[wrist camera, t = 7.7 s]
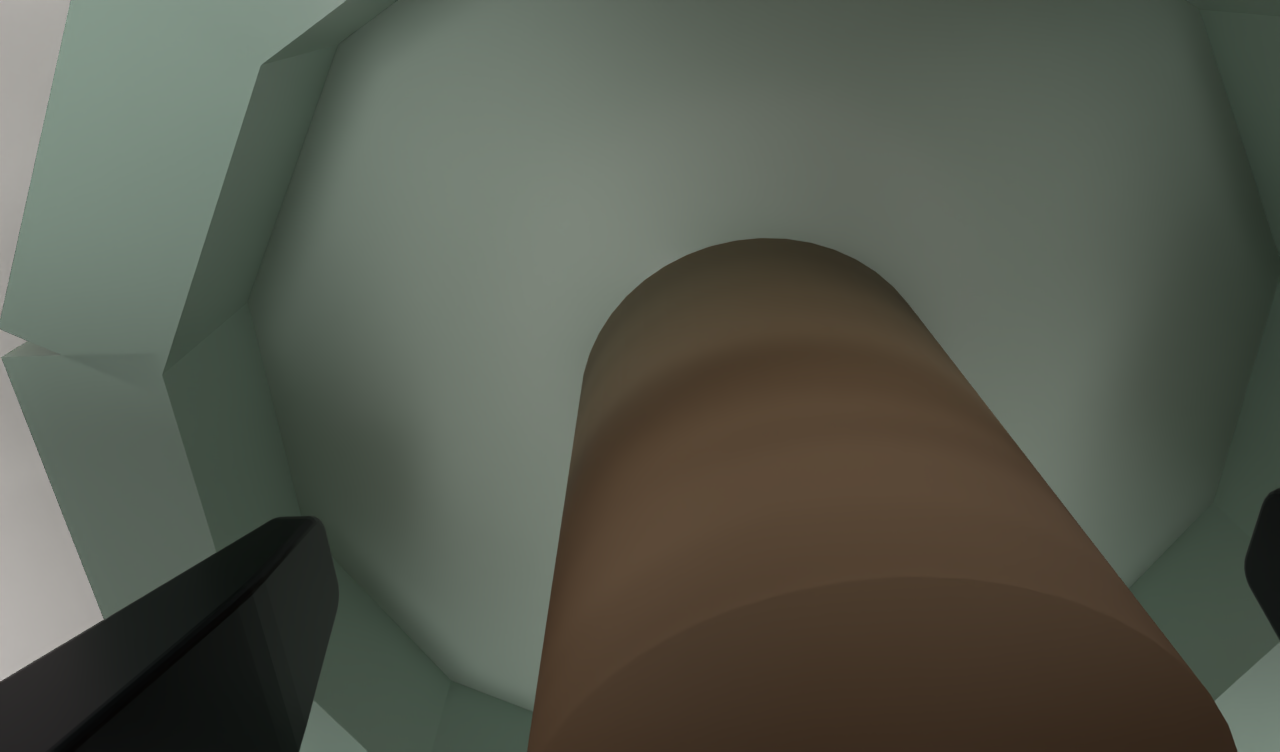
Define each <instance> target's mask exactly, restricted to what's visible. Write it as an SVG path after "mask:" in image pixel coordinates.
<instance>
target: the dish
mask: <svg viewBox="0 0 1280 752" xmlns="http://www.w3.org/2000/svg"><path fill="white" fill-rule="evenodd" d="M756 238H777V239H791V240H797V241H804V242H810V243H814V244H817V245H820V246H824V247H827V248H831V249H834V250H836V251H839V252H841V253H843V254H845V255H847V256H850V257H852V258H854V259H856V260H858V261H859V262H861V263H863V264H864V265H866V266H867V267H869V268H871V269H872V270H874V271H875V272H877V273H878V274H879V275H880V276H881V277H883V278H884V279H885V280H886V281H887V282H888V283H890V284H891V285H892V286H893V287H894V288H895V289H896V290H897V291H898V293H899V294H900V295H901V296H902V297H903V298H904V299H905V301H906V302H907V303H908V304H909V305H910V307H911V308H912V309H913V311H914V312H915V313H916V314H917V316H918V317H919V318H920V320H921V321H922V322H923V323H924V325H925V326H926V327H927V329H928V330H929V331H930V333H931V334H932V335H933V336H934V338H935V339H936V340H937V342H938V343H939V344H940V345H941V347H942V348H943V349H944V351H945V352H946V353H947V354H948V356H949V357H950V358H951V360H952V361H953V362H954V364H955V365H956V366H957V367H958V369H959V370H960V371H961V373H962V374H963V375H964V376H965V378H966V379H967V380H968V382H969V383H970V384H971V386H972V387H973V388H974V389H975V391H976V392H977V393H978V395H979V396H980V397H981V398H982V400H983V401H984V402H985V404H986V405H987V406H988V407H989V409H990V410H991V411H992V413H993V414H994V415H995V417H996V418H997V419H998V420H999V422H1000V423H1001V424H1002V426H1003V427H1004V428H1005V429H1006V431H1007V432H1008V433H1009V435H1010V436H1011V437H1012V439H1013V440H1014V441H1015V442H1016V444H1017V445H1018V446H1019V448H1020V449H1021V450H1022V451H1023V453H1024V454H1025V455H1026V457H1027V458H1028V459H1029V460H1030V462H1031V463H1032V464H1033V466H1034V467H1035V468H1036V470H1037V471H1038V472H1039V473H1040V475H1041V476H1042V477H1043V479H1044V480H1045V481H1046V482H1047V484H1048V485H1049V486H1050V488H1051V489H1052V490H1053V492H1054V493H1055V494H1056V495H1057V497H1058V498H1059V499H1060V501H1061V502H1062V503H1063V504H1064V506H1065V507H1066V508H1067V510H1068V511H1069V512H1070V514H1071V515H1072V516H1073V517H1074V519H1075V520H1076V521H1077V523H1078V524H1079V525H1080V526H1081V528H1082V529H1083V530H1084V532H1085V533H1086V534H1087V535H1088V537H1089V538H1090V539H1091V541H1092V542H1093V543H1094V545H1095V546H1096V547H1097V548H1098V550H1099V551H1100V552H1101V554H1102V555H1103V556H1104V557H1105V559H1106V560H1107V561H1108V563H1109V564H1110V565H1111V567H1112V568H1113V569H1114V570H1115V572H1116V573H1117V574H1118V576H1119V577H1120V578H1121V579H1122V581H1123V582H1124V583H1125V585H1126V586H1127V587H1128V588H1129V590H1130V591H1131V592H1132V594H1133V595H1134V596H1135V598H1136V599H1137V600H1138V601H1139V603H1140V604H1141V605H1142V607H1143V608H1144V609H1145V610H1146V612H1147V613H1148V614H1149V616H1150V617H1151V618H1152V620H1153V621H1154V622H1155V623H1156V625H1157V626H1158V627H1159V629H1160V630H1161V631H1162V632H1163V634H1164V635H1165V636H1166V638H1167V639H1168V640H1169V641H1170V643H1171V644H1172V645H1173V647H1174V648H1175V649H1176V651H1177V652H1178V653H1179V654H1180V656H1181V657H1182V658H1183V660H1184V661H1185V662H1186V663H1187V665H1188V666H1189V667H1190V669H1191V670H1192V671H1193V673H1194V674H1195V675H1196V676H1197V678H1198V679H1199V680H1200V682H1201V683H1202V684H1203V685H1204V687H1205V688H1206V689H1207V691H1208V692H1209V693H1210V695H1211V696H1212V698H1213V700H1214V701H1215V703H1216V705H1217V706H1218V708H1219V710H1220V711H1221V713H1222V715H1223V716H1224V718H1225V720H1226V722H1227V723H1228V725H1229V728H1230V731H1231V733H1232V736H1233V739H1234V742H1235V745H1236V748H1237V751H1238V752H1280V640H1279V639H1278V637H1277V635H1276V633H1275V632H1274V630H1273V628H1272V626H1271V624H1270V623H1269V621H1268V619H1267V617H1266V616H1265V614H1264V612H1263V610H1262V609H1261V607H1260V605H1259V603H1258V602H1257V600H1256V598H1255V596H1254V595H1253V593H1252V591H1251V589H1250V587H1249V585H1248V583H1247V580H1246V577H1245V571H1244V560H1245V555H1246V552H1247V549H1248V546H1249V543H1250V540H1251V537H1252V533H1253V530H1254V527H1255V524H1256V521H1257V518H1258V515H1259V512H1260V509H1261V506H1262V503H1263V501H1264V498H1265V497H1266V496H1267V495H1268V494H1269V493H1270V492H1271V491H1273V490H1275V489H1277V488H1280V0H71V2H70V6H69V11H68V15H67V20H66V24H65V29H64V33H63V38H62V42H61V47H60V51H59V56H58V60H57V65H56V69H55V74H54V78H53V83H52V88H51V92H50V97H49V101H48V106H47V110H46V115H45V119H44V124H43V128H42V133H41V137H40V142H39V146H38V151H37V155H36V160H35V164H34V169H33V174H32V178H31V183H30V187H29V192H28V196H27V201H26V205H25V210H24V214H23V219H22V223H21V228H20V232H19V237H18V241H17V246H16V250H15V255H14V260H13V264H12V269H11V273H10V278H9V282H8V287H7V291H6V296H5V300H4V305H3V309H2V314H1V318H0V329H1V330H3V331H5V332H8V333H10V334H13V335H15V336H17V337H20V338H22V339H24V340H27V342H26V343H24V344H22V345H21V346H19V347H17V348H16V349H14V350H13V351H11V352H9V353H8V354H6V355H4V356H3V357H1V358H2V361H3V363H4V366H5V368H6V371H7V373H8V376H9V378H10V381H11V384H12V386H13V389H14V391H15V394H16V396H17V399H18V401H19V404H20V406H21V409H22V412H23V414H24V417H25V419H26V422H27V424H28V427H29V429H30V432H31V435H32V437H33V440H34V442H35V445H36V447H37V450H38V452H39V455H40V458H41V460H42V463H43V465H44V468H45V470H46V473H47V475H48V478H49V480H50V483H51V486H52V488H53V491H54V493H55V496H56V498H57V501H58V503H59V506H60V509H61V511H62V514H63V516H64V519H65V521H66V524H67V526H68V529H69V532H70V534H71V537H72V539H73V542H74V544H75V547H76V549H77V552H78V554H79V557H80V560H81V562H82V565H83V567H84V570H85V572H86V575H87V577H88V580H89V583H90V585H91V588H92V590H93V593H94V595H95V598H96V600H97V603H98V606H99V608H100V611H101V613H102V616H103V618H104V619H106V618H107V617H109V616H111V615H112V614H114V613H116V612H118V611H119V610H121V609H123V608H124V607H126V606H128V605H129V604H131V603H133V602H134V601H136V600H138V599H139V598H141V597H143V596H144V595H146V594H148V593H149V592H151V591H153V590H154V589H156V588H158V587H159V586H161V585H163V584H164V583H166V582H168V581H169V580H171V579H173V578H174V577H176V576H178V575H179V574H181V573H183V572H184V571H186V570H188V569H189V568H191V567H193V566H194V565H196V564H198V563H199V562H201V561H203V560H204V559H206V558H208V557H209V556H211V555H213V554H215V553H216V552H218V551H220V550H221V549H223V548H225V547H226V546H228V545H230V544H231V543H233V542H235V541H236V540H238V539H240V538H241V537H243V536H245V535H246V534H248V533H250V532H251V531H253V530H255V529H256V528H258V527H260V526H261V525H263V524H265V523H266V522H268V521H270V520H271V519H273V518H276V517H287V516H315V517H317V518H318V519H320V520H321V521H322V523H323V525H324V527H325V530H326V533H327V537H328V542H329V546H330V550H331V554H332V558H333V563H334V567H335V571H336V575H337V580H338V585H339V604H338V609H337V614H336V617H335V621H334V625H333V629H332V632H331V636H330V640H329V644H328V648H327V651H326V655H325V659H324V663H323V666H322V670H321V674H320V678H319V681H318V685H317V689H316V693H315V697H314V700H313V704H312V708H311V712H310V715H309V719H308V723H307V727H306V730H305V734H304V737H303V740H302V744H301V747H300V751H299V752H527V748H528V742H529V735H530V728H531V722H532V715H533V708H534V702H535V695H536V688H537V682H538V675H539V668H540V662H541V655H542V648H543V642H544V635H545V628H546V622H547V615H548V608H549V601H550V595H551V588H552V581H553V575H554V568H555V561H556V555H557V548H558V541H559V535H560V528H561V521H562V515H563V508H564V501H565V495H566V488H567V481H568V475H569V468H570V461H571V455H572V448H573V441H574V435H575V428H576V421H577V414H578V408H579V401H580V394H581V388H582V381H583V374H584V371H585V367H586V364H587V361H588V357H589V354H590V352H591V349H592V347H593V345H594V343H595V341H596V339H597V336H598V334H599V332H600V331H601V329H602V328H603V326H604V325H605V323H606V321H607V320H608V318H609V317H610V315H611V314H612V313H613V311H614V310H615V309H616V308H617V307H618V306H619V304H620V303H621V302H622V301H623V300H624V299H625V297H626V296H627V295H628V294H630V293H631V292H632V291H633V290H634V289H635V288H636V287H637V286H638V285H640V284H641V283H642V282H643V281H644V280H645V279H647V278H648V277H650V276H651V275H653V274H654V273H656V272H657V271H658V270H660V269H661V268H663V267H664V266H666V265H668V264H670V263H672V262H674V261H676V260H678V259H680V258H682V257H684V256H686V255H688V254H691V253H693V252H696V251H699V250H702V249H704V248H707V247H710V246H714V245H718V244H723V243H727V242H731V241H736V240H746V239H756Z"/></svg>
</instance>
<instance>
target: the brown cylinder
mask: <svg viewBox="0 0 1280 752" xmlns="http://www.w3.org/2000/svg"><path fill="white" fill-rule="evenodd" d="M527 752H1238V751H1237V748H1236V745H1235V742H1234V739H1233V736H1232V733H1231V731H1230V728H1229V725H1228V723H1227V722H1226V720H1225V718H1224V716H1223V715H1222V713H1221V711H1220V710H1219V708H1218V706H1217V705H1216V703H1215V701H1214V700H1213V698H1212V696H1211V695H1210V693H1209V692H1208V691H1207V689H1206V688H1205V687H1204V685H1203V684H1202V683H1201V682H1200V680H1199V679H1198V678H1197V676H1196V675H1195V674H1194V673H1193V671H1192V670H1191V669H1190V667H1189V666H1188V665H1187V663H1186V662H1185V661H1184V660H1183V658H1182V657H1181V656H1180V654H1179V653H1178V652H1177V651H1176V649H1175V648H1174V647H1173V645H1172V644H1171V643H1170V641H1169V640H1168V639H1167V638H1166V636H1165V635H1164V634H1163V632H1162V631H1161V630H1160V629H1159V627H1158V626H1157V625H1156V623H1155V622H1154V621H1153V620H1152V618H1151V617H1150V616H1149V614H1148V613H1147V612H1146V610H1145V609H1144V608H1143V607H1142V605H1141V604H1140V603H1139V601H1138V600H1137V599H1136V598H1135V596H1134V595H1133V594H1132V592H1131V591H1130V590H1129V588H1128V587H1127V586H1126V585H1125V583H1124V582H1123V581H1122V579H1121V578H1120V577H1119V576H1118V574H1117V573H1116V572H1115V570H1114V569H1113V568H1112V567H1111V565H1110V564H1109V563H1108V561H1107V560H1106V559H1105V557H1104V556H1103V555H1102V554H1101V552H1100V551H1099V550H1098V548H1097V547H1096V546H1095V545H1094V543H1093V542H1092V541H1091V539H1090V538H1089V537H1088V535H1087V534H1086V533H1085V532H1084V530H1083V529H1082V528H1081V526H1080V525H1079V524H1078V523H1077V521H1076V520H1075V519H1074V517H1073V516H1072V515H1071V514H1070V512H1069V511H1068V510H1067V508H1066V507H1065V506H1064V504H1063V503H1062V502H1061V501H1060V499H1059V498H1058V497H1057V495H1056V494H1055V493H1054V492H1053V490H1052V489H1051V488H1050V486H1049V485H1048V484H1047V482H1046V481H1045V480H1044V479H1043V477H1042V476H1041V475H1040V473H1039V472H1038V471H1037V470H1036V468H1035V467H1034V466H1033V464H1032V463H1031V462H1030V460H1029V459H1028V458H1027V457H1026V455H1025V454H1024V453H1023V451H1022V450H1021V449H1020V448H1019V446H1018V445H1017V444H1016V442H1015V441H1014V440H1013V439H1012V437H1011V436H1010V435H1009V433H1008V432H1007V431H1006V429H1005V428H1004V427H1003V426H1002V424H1001V423H1000V422H999V420H998V419H997V418H996V417H995V415H994V414H993V413H992V411H991V410H990V409H989V407H988V406H987V405H986V404H985V402H984V401H983V400H982V398H981V397H980V396H979V395H978V393H977V392H976V391H975V389H974V388H973V387H972V386H971V384H970V383H969V382H968V380H967V379H966V378H965V376H964V375H963V374H962V373H961V371H960V370H959V369H958V367H957V366H956V365H955V364H954V362H953V361H952V360H951V358H950V357H949V356H948V354H947V353H946V352H945V351H944V349H943V348H942V347H941V345H940V344H939V343H938V342H937V340H936V339H935V338H934V336H933V335H932V334H931V333H930V331H929V330H928V329H927V327H926V326H925V325H924V323H923V322H922V321H921V320H920V318H919V317H918V316H917V314H916V313H915V312H914V311H913V309H912V308H911V307H910V305H909V304H908V303H907V302H906V301H905V299H904V298H903V297H902V296H901V295H900V294H899V293H898V291H897V290H896V289H895V288H894V287H893V286H892V285H891V284H890V283H888V282H887V281H886V280H885V279H884V278H883V277H881V276H880V275H879V274H878V273H877V272H875V271H874V270H872V269H871V268H869V267H867V266H866V265H864V264H863V263H861V262H859V261H858V260H856V259H854V258H852V257H850V256H847V255H845V254H843V253H841V252H839V251H836V250H834V249H831V248H827V247H824V246H820V245H817V244H814V243H810V242H804V241H797V240H791V239H777V238H756V239H746V240H736V241H731V242H727V243H723V244H718V245H714V246H710V247H707V248H704V249H702V250H699V251H696V252H693V253H691V254H688V255H686V256H684V257H682V258H680V259H678V260H676V261H674V262H672V263H670V264H668V265H666V266H664V267H663V268H661V269H660V270H658V271H657V272H656V273H654V274H653V275H651V276H650V277H648V278H647V279H645V280H644V281H643V282H642V283H641V284H640V285H638V286H637V287H636V288H635V289H634V290H633V291H632V292H631V293H630V294H628V295H627V296H626V297H625V299H624V300H623V301H622V302H621V303H620V304H619V306H618V307H617V308H616V309H615V310H614V311H613V313H612V314H611V315H610V317H609V318H608V320H607V321H606V323H605V325H604V326H603V328H602V329H601V331H600V332H599V334H598V336H597V339H596V341H595V343H594V345H593V347H592V349H591V352H590V354H589V357H588V361H587V364H586V367H585V371H584V374H583V381H582V388H581V394H580V401H579V408H578V414H577V421H576V428H575V435H574V441H573V448H572V455H571V461H570V468H569V475H568V481H567V488H566V495H565V501H564V508H563V515H562V521H561V528H560V535H559V541H558V548H557V555H556V561H555V568H554V575H553V581H552V588H551V595H550V601H549V608H548V615H547V622H546V628H545V635H544V642H543V648H542V655H541V662H540V668H539V675H538V682H537V688H536V695H535V702H534V708H533V715H532V722H531V728H530V735H529V742H528V748H527Z"/></svg>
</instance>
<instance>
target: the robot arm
mask: <svg viewBox="0 0 1280 752" xmlns="http://www.w3.org/2000/svg"><path fill="white" fill-rule="evenodd" d="M1244 571H1245V577H1246V580H1247V583H1248V585H1249V587H1250V589H1251V591H1252V593H1253V595H1254V596H1255V598H1256V600H1257V602H1258V603H1259V605H1260V607H1261V609H1262V610H1263V612H1264V614H1265V616H1266V617H1267V619H1268V621H1269V623H1270V624H1271V626H1272V628H1273V630H1274V632H1275V633H1276V635H1277V637H1278V639H1279V640H1280V488H1277V489H1275V490H1273V491H1271V492H1270V493H1269V494H1268V495H1267V496H1266V497H1265V498H1264V501H1263V503H1262V506H1261V509H1260V512H1259V515H1258V518H1257V521H1256V524H1255V527H1254V530H1253V533H1252V537H1251V540H1250V543H1249V546H1248V549H1247V552H1246V555H1245V560H1244ZM338 604H339V585H338V580H337V575H336V571H335V567H334V563H333V558H332V554H331V550H330V546H329V542H328V537H327V533H326V530H325V527H324V525H323V523H322V521H321V520H320V519H318V518H317V517H315V516H287V517H276V518H273V519H271V520H270V521H268V522H266V523H265V524H263V525H261V526H260V527H258V528H256V529H255V530H253V531H251V532H250V533H248V534H246V535H245V536H243V537H241V538H240V539H238V540H236V541H235V542H233V543H231V544H230V545H228V546H226V547H225V548H223V549H221V550H220V551H218V552H216V553H215V554H213V555H211V556H209V557H208V558H206V559H204V560H203V561H201V562H199V563H198V564H196V565H194V566H193V567H191V568H189V569H188V570H186V571H184V572H183V573H181V574H179V575H178V576H176V577H174V578H173V579H171V580H169V581H168V582H166V583H164V584H163V585H161V586H159V587H158V588H156V589H154V590H153V591H151V592H149V593H148V594H146V595H144V596H143V597H141V598H139V599H138V600H136V601H134V602H133V603H131V604H129V605H128V606H126V607H124V608H123V609H121V610H119V611H118V612H116V613H114V614H112V615H111V616H109V617H107V618H106V619H104V620H102V621H101V622H99V623H97V624H96V625H94V626H92V627H91V628H89V629H87V630H86V631H84V632H82V633H81V634H79V635H77V636H76V637H74V638H72V639H71V640H69V641H67V642H66V643H64V644H62V645H61V646H59V647H57V648H56V649H54V650H52V651H51V652H49V653H47V654H46V655H44V656H42V657H41V658H39V659H37V660H36V661H34V662H32V663H31V664H29V665H27V666H26V667H24V668H22V669H21V670H19V671H17V672H16V673H14V674H12V675H10V676H9V677H7V678H5V679H4V680H2V681H0V752H299V751H300V747H301V744H302V740H303V737H304V734H305V730H306V727H307V723H308V719H309V715H310V712H311V708H312V704H313V700H314V697H315V693H316V689H317V685H318V681H319V678H320V674H321V670H322V666H323V663H324V659H325V655H326V651H327V648H328V644H329V640H330V636H331V632H332V629H333V625H334V621H335V617H336V614H337V609H338Z"/></svg>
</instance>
